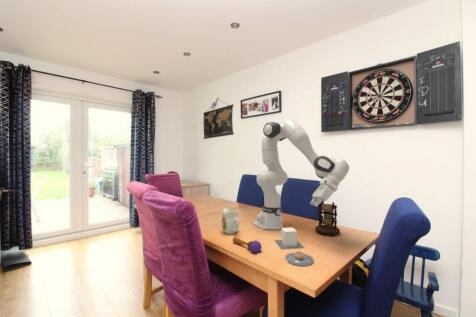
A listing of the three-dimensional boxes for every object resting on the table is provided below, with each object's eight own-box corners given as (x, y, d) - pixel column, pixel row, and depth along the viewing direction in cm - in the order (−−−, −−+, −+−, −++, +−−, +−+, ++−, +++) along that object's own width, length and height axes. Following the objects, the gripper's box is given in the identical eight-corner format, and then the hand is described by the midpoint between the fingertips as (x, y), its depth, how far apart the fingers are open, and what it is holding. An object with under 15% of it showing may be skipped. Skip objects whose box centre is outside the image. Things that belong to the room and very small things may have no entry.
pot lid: (279, 258, 111) (279, 252, 111) (297, 251, 119) (297, 245, 119) (301, 269, 101) (301, 262, 101) (319, 261, 108) (319, 254, 108)
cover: (281, 242, 131) (281, 228, 130) (292, 241, 131) (292, 227, 131) (285, 246, 124) (285, 231, 124) (297, 246, 125) (297, 231, 125)
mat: (274, 241, 133) (274, 240, 133) (295, 240, 135) (295, 239, 135) (281, 250, 120) (281, 249, 120) (305, 249, 122) (305, 248, 122)
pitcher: (231, 238, 138) (230, 215, 138) (216, 230, 153) (216, 209, 153) (246, 235, 144) (246, 213, 144) (231, 227, 159) (231, 207, 159)
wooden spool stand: (342, 231, 150) (342, 200, 149) (337, 238, 137) (337, 204, 137) (318, 227, 158) (318, 198, 158) (312, 233, 146) (312, 202, 145)
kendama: (239, 234, 134) (264, 241, 119) (238, 245, 133) (263, 253, 118) (231, 234, 130) (255, 242, 115) (230, 245, 129) (255, 254, 114)
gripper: (318, 182, 139) (304, 200, 138) (328, 181, 119) (312, 202, 118) (327, 188, 138) (313, 207, 137) (339, 188, 118) (322, 210, 117)
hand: (313, 205), depth 128 cm, fingers open, 8 cm apart
